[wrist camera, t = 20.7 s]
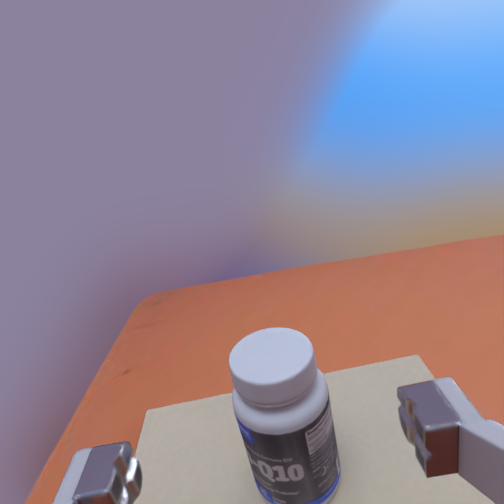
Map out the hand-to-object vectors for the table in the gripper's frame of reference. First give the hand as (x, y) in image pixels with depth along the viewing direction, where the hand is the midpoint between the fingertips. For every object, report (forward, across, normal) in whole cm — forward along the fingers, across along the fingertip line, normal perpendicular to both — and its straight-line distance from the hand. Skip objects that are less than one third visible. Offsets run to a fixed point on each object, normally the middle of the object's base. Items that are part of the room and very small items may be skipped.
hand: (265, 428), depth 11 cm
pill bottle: (+6, 0, +10) cm, 12 cm away
